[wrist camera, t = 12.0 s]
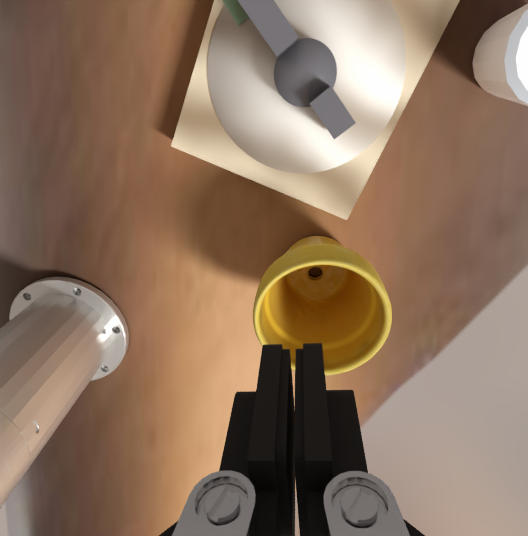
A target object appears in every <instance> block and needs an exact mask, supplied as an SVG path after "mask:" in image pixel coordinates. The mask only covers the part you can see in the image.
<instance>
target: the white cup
mask: <svg viewBox="0 0 528 536" xmlns="http://www.w3.org/2000/svg"><path fill="white" fill-rule="evenodd" d="M472 65H473V71H474V77H475V79H476V81H477V82H478V84H479V85H480V87H481V88H482V89H483V90H485V91H487V92H488V93H490V94H492V95H494V96H497V97H501V98H504V99H507V100H510V101H514V102H517V103H520V104H523V105H527V106H528V4H526V5H524V6H523V7H521V8H519V9H517V10H515V11H514V12H512V13H510V14H508V15H507V16H505V17H503V18H501V19H499V20H498V21H497V22H496V23H494V24H493V25H492V26H491V27H490V28H489V29H488V30H486V31H485V32H484V34H483V36H482V37H481V39H480V41H479V42H478V44H477V46H476V48H475V52H474V57H473V62H472Z"/></svg>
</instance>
